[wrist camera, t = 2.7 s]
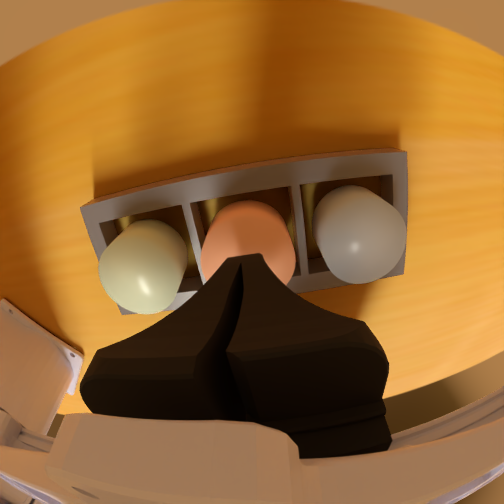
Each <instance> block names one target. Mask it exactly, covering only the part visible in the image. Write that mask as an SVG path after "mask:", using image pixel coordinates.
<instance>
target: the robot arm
mask: <svg viewBox="0 0 504 504" xmlns="http://www.w3.org/2000/svg"><path fill="white" fill-rule="evenodd" d="M83 360H84V356H83V355H82V353H80V352H79V351H77V350H75V349H74V348H72V347H71V346H69V345H67V344H66V343H64V342H63V341H61V340H60V339H58V338H57V337H55V336H54V335H52V334H51V333H49V332H48V331H46V330H45V329H44V328H42V327H41V326H39V325H38V324H37V323H35V322H34V321H32V320H31V319H30V318H28V317H27V316H26V315H24V314H23V313H22V312H21V311H19V310H18V309H17V308H15V307H14V306H13V305H12V304H10V303H9V302H8V301H7V300H5V299H2V300H1V301H0V504H453V503H455V502H457V501H459V500H461V499H462V498H464V497H466V496H468V495H469V494H471V493H473V492H474V491H476V490H478V489H480V488H481V487H483V486H485V485H486V484H488V483H489V482H491V481H492V480H494V479H495V478H497V477H498V476H500V475H501V474H503V473H504V386H503V387H501V388H499V389H497V390H496V391H494V392H492V393H490V394H488V395H487V396H485V397H483V398H481V399H479V400H477V401H475V402H473V403H471V404H469V405H467V406H465V407H462V408H460V409H458V410H456V411H454V412H451V413H449V414H447V415H444V416H442V417H440V418H437V419H435V420H432V421H430V422H427V423H424V424H422V425H419V426H416V427H413V428H410V429H408V430H405V431H402V432H398V433H395V434H392V435H391V434H390V431H389V428H388V425H387V422H386V419H385V416H384V415H385V414H386V408H385V405H384V402H383V399H382V396H383V393H384V389H385V385H386V381H387V377H388V373H389V362H388V360H387V357H386V354H385V352H384V350H383V348H382V346H381V344H380V343H379V341H378V340H377V338H376V337H375V336H374V334H373V333H372V331H371V330H370V329H369V327H368V326H367V325H366V323H365V322H364V321H360V320H356V319H352V318H348V317H345V316H341V315H338V314H335V313H332V312H330V311H327V310H324V309H322V308H320V307H318V306H315V305H314V304H312V303H310V302H308V301H306V300H304V299H303V298H301V297H300V296H298V295H297V294H296V293H294V292H293V291H292V290H291V289H289V288H288V287H287V286H286V285H285V284H284V283H283V282H282V281H281V280H280V279H279V278H278V277H277V276H276V275H275V274H274V272H273V271H272V270H271V269H270V268H269V266H268V265H267V263H266V262H265V260H264V258H263V255H262V254H261V253H254V254H248V255H241V256H235V257H228V258H227V259H226V260H225V261H224V262H223V263H222V264H221V266H220V267H219V268H218V269H217V270H216V272H215V273H214V274H213V275H212V276H211V277H210V278H209V280H208V281H207V282H206V283H205V284H204V285H203V286H202V287H201V288H200V289H199V290H198V291H197V292H196V293H195V294H194V295H193V296H192V297H191V298H190V299H189V300H187V301H186V302H185V303H184V304H183V305H181V306H180V307H179V308H178V309H176V310H175V311H174V312H172V313H171V314H169V315H168V316H166V317H165V318H163V319H162V320H160V321H158V322H157V323H155V324H154V325H152V326H150V327H149V328H147V329H145V330H143V331H141V332H139V333H137V334H135V335H133V336H131V337H129V338H127V339H125V340H122V341H120V342H117V343H115V344H112V345H110V346H107V347H104V348H102V349H99V350H97V352H96V353H95V355H94V357H93V359H92V361H91V363H90V365H89V367H88V369H87V371H86V373H85V375H84V377H83V379H82V381H81V383H80V393H81V396H82V399H83V401H84V402H85V404H86V405H87V407H88V408H89V409H90V411H91V412H92V413H75V414H66V415H65V417H64V419H63V422H62V424H61V426H60V428H59V431H58V433H57V436H56V438H52V437H49V436H46V434H47V432H48V430H49V428H50V425H51V423H52V421H53V419H54V417H55V415H56V412H57V410H58V408H59V406H60V404H61V402H62V400H63V398H64V396H65V394H66V392H67V393H68V394H70V395H73V394H74V392H75V389H76V385H77V381H78V377H79V374H80V370H81V367H82V363H83Z"/></svg>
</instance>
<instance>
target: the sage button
mask: <svg viewBox="0 0 504 504" xmlns="http://www.w3.org/2000/svg"><path fill="white" fill-rule="evenodd" d="M187 264H188V251H187V247H186V244H185V242H184V240H183V239H182V237H181V236H180V234H179V233H178V232H177V231H176V230H175V229H174V228H172V227H171V226H170V225H168V224H166V223H164V222H162V221H159V220H155V219H141V220H138V221H135V222H133V223H132V224H130V225H129V226H128V227H127V228H126V229H125V230H124V231H123V232H122V233H121V234H120V235H119V236H118V237H117V238H116V239H115V240H114V241H113V242H112V243H111V244H110V245H109V246H108V247H107V248H106V249H105V250H104V252H103V253H102V255H101V257H100V260H99V268H98V270H99V277H100V281H101V283H102V285H103V287H104V289H105V291H106V292H107V294H108V295H109V296H110V297H111V298H112V299H113V300H114V301H115V302H116V303H117V304H118V305H120V306H121V307H123V308H125V309H127V310H129V311H132V312H135V313H139V314H154V313H158V312H160V311H163V310H164V309H166V308H167V307H168V306H169V305H170V304H171V303H172V302H173V300H174V299H175V296H176V294H177V291H178V288H179V286H180V283H181V281H182V278H183V275H184V273H185V270H186V268H187Z"/></svg>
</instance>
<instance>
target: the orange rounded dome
mask: <svg viewBox="0 0 504 504" xmlns="http://www.w3.org/2000/svg"><path fill="white" fill-rule="evenodd" d="M254 253H261V254H262V255H263V258H264V260H265V262H266V263H267V265H268V266H269V268H270V269H271V270H272V271H273V272H274V274H275V275H276V276H277V277H278V278H279V279H280V280H281V281H282V282H283V283H284V284H285V285H287V283H288V282H289V281H290V279H291V277H292V275H293V272H294V269H295V262H296V258H295V251H294V247H293V244H292V241H291V238H290V235H289V232H288V229H287V226H286V223H285V221H284V219H283V218H282V216H281V215H280V214H279V213H278V211H277V210H275V209H274V208H273V207H271V206H270V205H268V204H266V203H263V202H260V201H256V200H240V201H236V202H233V203H231V204H229V205H227V206H225V207H224V208H222V209H221V210H220V211H219V212H218V213H217V214H216V216H215V217H214V219H213V220H212V222H211V225H210V227H209V230H208V233H207V236H206V239H205V241H204V244H203V247H202V251H201V258H200V261H201V268H202V272H203V275H204V277H205V279H206V280H207V281H208V280H209V278H210V277H211V276H212V275H213V274H214V273H215V272H216V270H217V269H218V268H219V267H220V266H221V264H222V263H223V262H224V261H225V260H226V259H227V258H228V257H235V256H241V255H248V254H254Z"/></svg>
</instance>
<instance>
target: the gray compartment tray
mask: <svg viewBox="0 0 504 504" xmlns="http://www.w3.org/2000/svg"><path fill="white" fill-rule="evenodd" d="M379 175H380V181H381V198H382V199H383V200H385V201H386V202H388V203H389V204H390V205H392V206H393V207H394V208H395V209H397V211H398V212H399V213H400V214H401V216H402V218H403V220H404V222H405V226H406V232H407V215H408V170H407V152H406V151H402V150H399V149H395V148H381V149H366V150H353V151H341V152H331V153H322V154H313V155H304V156H296V157H289V158H281V159H274V160H268V161H261V162H255V163H249V164H243V165H237V166H231V167H226V168H220V169H215V170H210V171H205V172H200V173H195V174H190V175H186V176H181V177H177V178H172V179H168V180H163V181H159V182H155V183H151V184H147V185H143V186H139V187H135V188H131V189H127V190H124V191H120V192H116V193H113V194H109V195H106V196H102V197H99V198H95V199H93V200H91V201H89V202H88V203H86V204H85V205H83V206H82V207H80V210H81V213H82V216H83V219H84V222H85V225H86V228H87V231H88V234H89V236H90V239H91V242H92V245H93V247H94V250H95V253H96V255H97V258H98V261H99V260H100V257H101V255H102V253H103V252H104V250H105V249H106V248H107V247H108V246H109V245H110V244H111V243H112V242H113V241H114V240H115V239H116V238H117V237H118V234H117V231H116V228H115V225H114V222H113V220H114V219H118V218H122V217H126V216H131V215H135V214H139V213H144V212H148V211H153V210H158V209H162V208H167V207H172V206H177V205H182V209H183V213H184V217H185V221H186V224H187V228H188V232H189V236H190V240H191V243H192V247H193V251H194V254H195V258H196V261H197V265H198V269H199V272H200V276H196V277H189V278H182V281H181V283H180V286H179V288H178V291H177V294H176V296H175V299H174V300H173V302H172V303H171V304H170V305H169V306H168V307H167V308H166V309H164V310H163V311H169V310H176V309H178V308H179V307H180V306H181V305H183V304H184V303H185V302H186V301H187V300H189V299H190V298H191V297H192V296H193V295H194V294H195V293H196V292H197V291H198V290H199V289H200V288H201V287H202V286H203V285H204V284H205V283H206V282H207V280H206V279H205V277H204V275H203V272H202V268H201V261H200V258H201V251H202V247H203V244H204V241H205V239H206V237H205V233H204V229H203V225H202V221H201V216H200V212H199V208H198V204H197V201H202V200H208V199H213V198H218V197H224V196H230V195H236V194H241V193H247V192H254V191H260V190H266V189H273V188H279V187H286V186H288V191H289V198H290V206H291V214H292V222H293V230H294V238H295V247H296V256H297V262H295V269H294V272H293V275H292V277H291V279H290V281H289V282H288V283H287V285H286V286H287V287H288V288H289V289H291V290H292V291H293V292H294V293H296V294H298V293H304V292H310V291H316V290H322V289H328V288H334V287H339V286H345V285H351V284H353V283H348V282H345V281H343V280H341V279H339V278H337V277H336V276H335V275H334V274H333V273H332V272H331V271H330V269H329V268H328V266H327V264H326V262H325V260H324V258H323V257H322V258H316V259H309V260H308V259H307V248H306V238H305V228H304V219H303V210H302V201H301V193H300V184H308V183H315V182H323V181H332V180H340V179H349V178H358V177H368V176H379ZM405 253H406V245H405V249H404V251H403V254H402V256H401V258H400V260H399V261H398V263H397V264H396V265H395V267H394V268H393V269H392V270H391V271H390V272H388V273H387V274H386V275H384V276H383V277H381V278H379V279H382V278H387V277H392V276H397V275H402V274H404V265H405ZM117 305H118V304H117ZM118 307H119V310H120V312H121V314H122V315H126V314H138V313H135V312H132V311H129V310H127V309H125V308H123V307H121V306H120V305H118Z"/></svg>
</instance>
